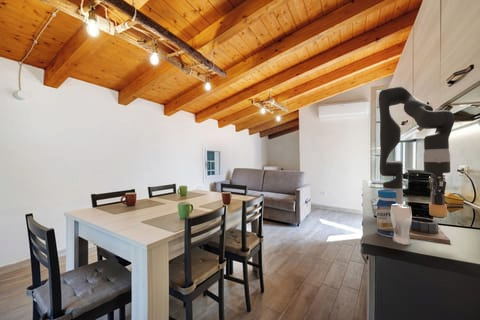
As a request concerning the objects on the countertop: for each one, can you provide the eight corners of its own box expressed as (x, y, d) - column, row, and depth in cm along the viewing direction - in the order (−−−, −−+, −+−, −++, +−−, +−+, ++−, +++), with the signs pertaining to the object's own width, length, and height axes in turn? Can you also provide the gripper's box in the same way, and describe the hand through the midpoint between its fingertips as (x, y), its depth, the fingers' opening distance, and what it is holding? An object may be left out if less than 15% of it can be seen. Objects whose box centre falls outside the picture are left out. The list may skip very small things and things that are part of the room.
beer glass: (391, 237, 87) (390, 203, 87) (412, 241, 83) (411, 205, 83) (390, 242, 82) (389, 206, 82) (412, 247, 77) (411, 208, 77)
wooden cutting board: (400, 224, 104) (400, 221, 104) (437, 229, 96) (437, 226, 96) (405, 237, 87) (405, 233, 87) (450, 244, 79) (450, 240, 79)
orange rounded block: (428, 213, 83) (427, 191, 83) (444, 214, 80) (444, 192, 80) (430, 216, 79) (430, 193, 79) (448, 218, 76) (448, 194, 76)
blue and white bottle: (404, 236, 88) (403, 191, 88) (390, 239, 85) (389, 192, 86) (385, 230, 96) (384, 188, 96) (372, 232, 93) (371, 190, 94)
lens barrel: (406, 224, 99) (405, 215, 99) (434, 228, 93) (434, 218, 93) (408, 231, 90) (408, 221, 90) (440, 235, 84) (440, 224, 84)
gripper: (420, 160, 87) (421, 200, 87) (427, 161, 76) (428, 206, 76) (444, 160, 83) (445, 201, 83) (455, 160, 71) (457, 209, 71)
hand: (437, 204), depth 79 cm, fingers closed on orange rounded block
